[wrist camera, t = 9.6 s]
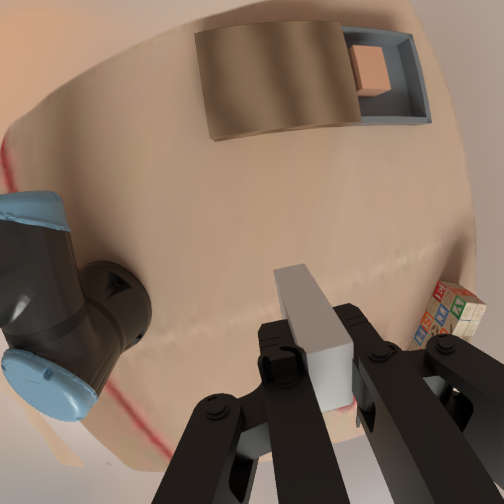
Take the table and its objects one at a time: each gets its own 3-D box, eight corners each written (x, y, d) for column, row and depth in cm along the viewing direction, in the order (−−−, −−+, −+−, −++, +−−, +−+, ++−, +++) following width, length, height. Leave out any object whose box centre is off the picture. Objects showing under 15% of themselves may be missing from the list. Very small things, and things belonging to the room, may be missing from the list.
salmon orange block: (362, 88, 29) (391, 89, 29) (352, 45, 27) (381, 47, 27) (346, 97, 34) (372, 97, 34) (338, 59, 33) (364, 60, 33)
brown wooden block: (215, 141, 37) (210, 138, 31) (201, 49, 33) (194, 33, 27) (345, 126, 36) (361, 121, 31) (327, 37, 32) (339, 21, 26)
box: (347, 126, 36) (358, 122, 32) (329, 37, 32) (337, 26, 28) (415, 125, 36) (431, 123, 32) (398, 43, 32) (411, 34, 28)
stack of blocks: (437, 279, 44) (478, 310, 32) (458, 283, 44) (498, 312, 33) (393, 374, 50) (418, 416, 38) (416, 374, 51) (441, 412, 39)
